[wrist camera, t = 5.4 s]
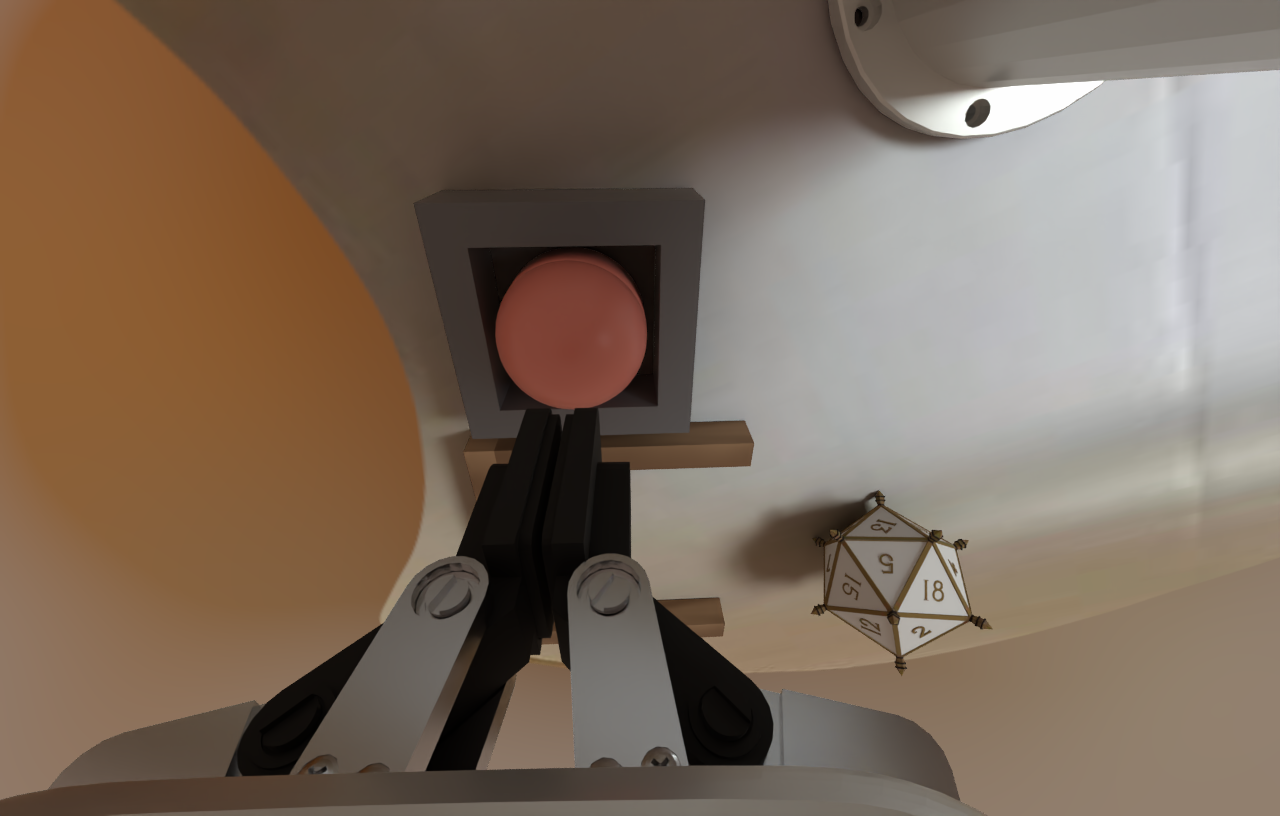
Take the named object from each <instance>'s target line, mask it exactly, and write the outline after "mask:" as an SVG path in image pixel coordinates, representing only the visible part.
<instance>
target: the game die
mask: <svg viewBox="0 0 1280 816" xmlns="http://www.w3.org/2000/svg"><path fill="white" fill-rule="evenodd" d="M884 497H885V496H883V494H882V493H881V492H880V491H878V493H877V495H876V496H875V498H876V500H875V501H876V502H877V504H878V506H876V507H875V508H874V509H872V510H871V511H869V512H868V513H866V514H865V515H864V516H862V517H861V518H859V519H858V520H857V521H855V522H854V523H852V524H851V525H849V526H848V527H847V528H845V529H844V530H842V531H841V532H839V530H838V529H837V530H830V536H831V537H832V538H831V539H830V540H828V541H827V542H825V541H824V539H821V538H820V537H818V538H813V540H814V541H815V543H816V545H819V547H821V546H822V547H824V604H823V605H819V604H818V606H814V609H813V611H812V613H811V614H816V615H819V616H820V614H822V613H823V614H824V612H825V611H826V610H828V611H829V612H831V613H832V614H834V615H835V616H837V617H838V618H840V619H841V620H843V621H844V622H846V623H847V624H849V625H850V626H852V627H853V628H855V629H856V630H858V631H859V632H861V633H862V634H864V635H865V636H867V637H868V638H870V639H871V640H873V641H874V642H876V643H877V644H879V645H880V646H882V647H883V648H885V649H886V650H888V651H889V652H891V653H892V654H894V655H895V656H896V661H895V663H896V666H895V667H896V668H897V669H898V671H899V673H900V674H901V675H903V673H904V671H905V669H907V668H906V666H905V664H906V663H905V662H904V659H903V657H904V656H906V655H908V654H910V653H912V652H913V651H915V650H917V649H919V648H921V647H923V646H925V645H926V644H928V643H930V642H932V641H934V640H936V639H938V638H940V637H941V636H943V635H945V634H947V633H949V632H951V631H953V630H954V629H956V628H958V627H960V626H962V625H964V624H966V623H967V622H969V621H970V622H972V623H973V624H975V626H978V627H980V629H992V628H991V626H990V625H989V624H988V622H987V621H986V619H982V618H980V616H979V617H977V616H974V615H972V612H971V607H970V603H969V599H968V595H967V591H966V587H965V583H964V579H963V574H962V570H961V566H960V562H959V558H958V554H957V549H961V550H962V548H966V545H967V543H968V541H969V540H962V539H958V541H955V543H954V544H951V543H949V542H948V541H946V540H944V539H942V537H943V535H942V530H931V531H932V532H930V531H928V530H927V529H925V528H923V527H921V526H919V525H918V524H916V523H914V522H912V521H911V520H909V519H907V518H905V517H904V516H902V515H900V514H898V513H897V512H895V511H893V510H891V509H890V508H888V507H886V506H884V501H885V500H884Z"/></svg>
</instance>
